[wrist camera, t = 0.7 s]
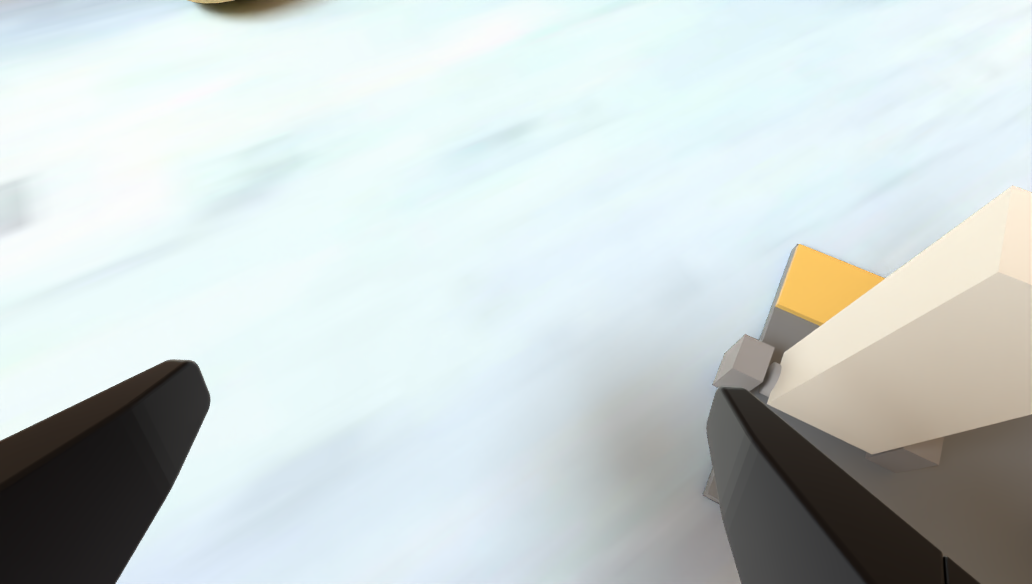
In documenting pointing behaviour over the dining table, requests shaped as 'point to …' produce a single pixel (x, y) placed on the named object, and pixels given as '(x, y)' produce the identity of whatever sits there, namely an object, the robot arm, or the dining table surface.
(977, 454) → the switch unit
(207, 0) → the apple
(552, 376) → the dining table surface
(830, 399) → the lever
